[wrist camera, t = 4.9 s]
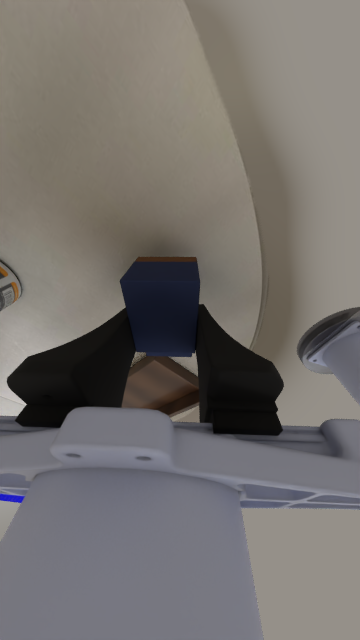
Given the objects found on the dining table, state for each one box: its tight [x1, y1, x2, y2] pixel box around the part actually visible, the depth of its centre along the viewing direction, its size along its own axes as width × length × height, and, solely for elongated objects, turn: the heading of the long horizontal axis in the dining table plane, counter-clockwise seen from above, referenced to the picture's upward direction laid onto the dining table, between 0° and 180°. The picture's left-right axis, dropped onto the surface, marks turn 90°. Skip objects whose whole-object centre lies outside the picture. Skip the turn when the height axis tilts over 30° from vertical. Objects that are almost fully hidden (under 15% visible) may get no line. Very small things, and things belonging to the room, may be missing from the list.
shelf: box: [121, 356, 199, 417], centre depth 32 cm, size 36×10×4 cm, turn 134°
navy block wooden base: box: [120, 257, 200, 357], centre depth 12 cm, size 8×4×4 cm, turn 0°
